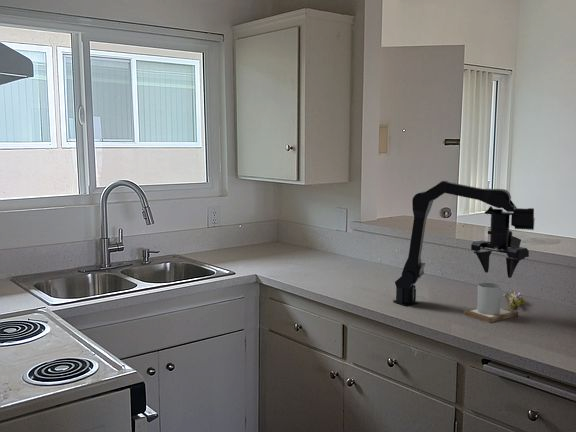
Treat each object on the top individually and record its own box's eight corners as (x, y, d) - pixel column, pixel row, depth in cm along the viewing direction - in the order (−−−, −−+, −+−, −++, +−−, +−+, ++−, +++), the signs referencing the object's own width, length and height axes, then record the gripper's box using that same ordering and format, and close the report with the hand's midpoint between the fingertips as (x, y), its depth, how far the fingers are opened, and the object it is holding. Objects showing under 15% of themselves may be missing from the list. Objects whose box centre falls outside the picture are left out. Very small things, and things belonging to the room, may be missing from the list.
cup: (474, 312, 187) (475, 286, 186) (482, 305, 195) (483, 280, 194) (497, 316, 183) (498, 289, 182) (504, 308, 191) (505, 282, 190)
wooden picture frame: (489, 322, 181) (489, 318, 181) (464, 314, 189) (464, 310, 189) (517, 315, 188) (517, 311, 188) (492, 308, 197) (492, 304, 196)
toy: (503, 304, 196) (502, 290, 210) (512, 316, 195) (511, 302, 209) (516, 296, 194) (514, 283, 208) (526, 308, 193) (523, 294, 207)
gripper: (540, 229, 182) (538, 277, 184) (493, 223, 198) (491, 267, 200) (518, 232, 177) (516, 281, 178) (470, 225, 192) (469, 271, 194)
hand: (497, 275), depth 188 cm, fingers open, 9 cm apart
